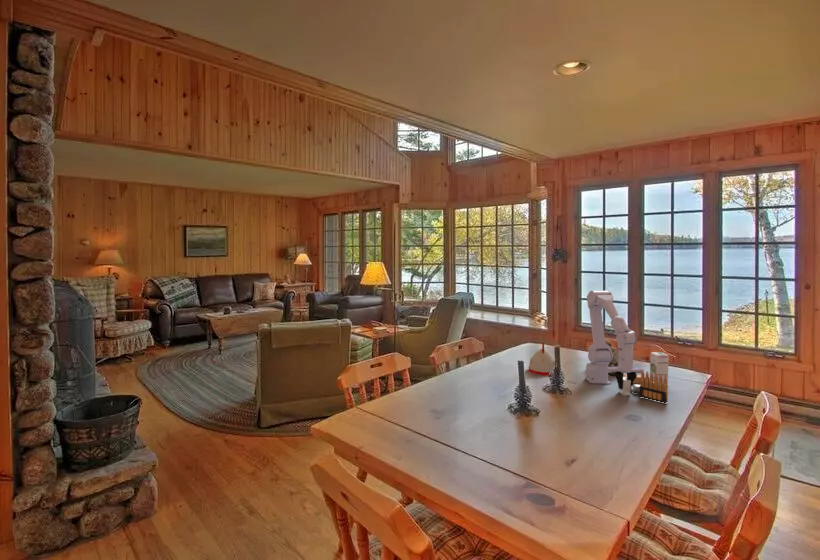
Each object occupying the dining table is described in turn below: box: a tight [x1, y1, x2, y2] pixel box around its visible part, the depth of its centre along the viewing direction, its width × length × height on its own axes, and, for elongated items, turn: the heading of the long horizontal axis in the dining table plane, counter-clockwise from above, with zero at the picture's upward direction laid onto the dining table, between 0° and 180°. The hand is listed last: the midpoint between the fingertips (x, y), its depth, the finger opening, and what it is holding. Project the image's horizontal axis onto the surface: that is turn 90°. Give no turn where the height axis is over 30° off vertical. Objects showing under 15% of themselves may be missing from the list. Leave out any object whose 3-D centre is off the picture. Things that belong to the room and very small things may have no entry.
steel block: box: [618, 377, 631, 396], centre depth 184 cm, size 5×3×7 cm, turn 174°
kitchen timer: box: [528, 342, 556, 376], centre depth 218 cm, size 14×14×15 cm
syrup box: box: [649, 351, 670, 384], centre depth 198 cm, size 6×6×14 cm
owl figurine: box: [596, 339, 625, 377], centre depth 216 cm, size 18×12×17 cm, turn 42°
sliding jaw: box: [623, 373, 650, 384], centre depth 196 cm, size 10×4×3 cm, turn 84°
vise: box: [630, 383, 640, 395], centre depth 191 cm, size 12×14×4 cm
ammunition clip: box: [638, 370, 668, 403], centre depth 176 cm, size 11×2×12 cm, turn 39°
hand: (624, 388), depth 184 cm, fingers closed on steel block, 3 cm apart
